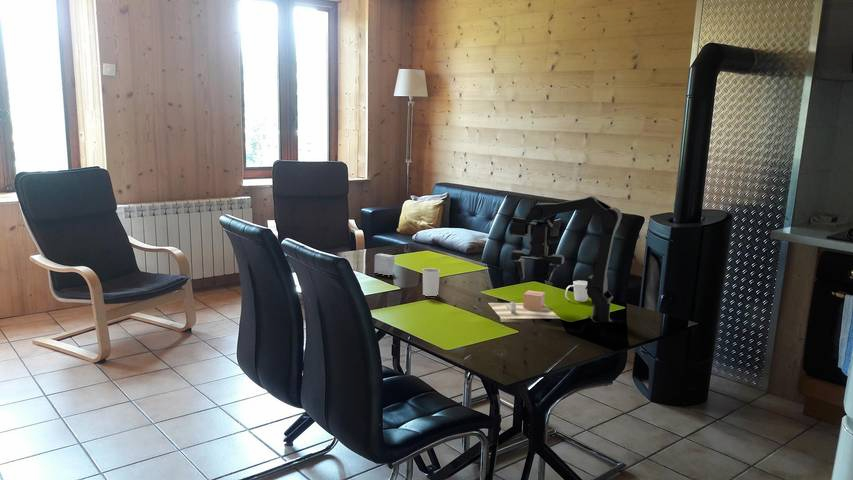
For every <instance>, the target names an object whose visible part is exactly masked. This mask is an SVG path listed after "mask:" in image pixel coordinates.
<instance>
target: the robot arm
mask: <svg viewBox="0 0 853 480" xmlns="http://www.w3.org/2000/svg"><path fill="white" fill-rule="evenodd" d="M587 209H588V210H590V211H591V213H593V214H594V215H596V216H597V217H598V218H600V228H601V229H600V230H601V236H600V237H601V238H600V242H599V247H598V248H599V249H598V252H597V253H598V254H597V257H596V263H595V267H594V268H595V269H594V272H593V274H591V275H590V276H588V277H587V278H586V279H587V280H586V281H587V286H586V288H585V289H587V295H588V298H590V301H591V305H592V306H593V307H592V316H591V315H590V316H588V319H589V320H591V321H592V322H594V323H595V324H596V323H597V324H600V323H601V324H602V323H603V324H604V323H610V324H611V323H613V322H614V321H613V320H612V319H611V318H610V315H611V314H610V311H611V302H612V300H613V298H614V296H613V294H612V293H611V292H610V291H609V289H608V285H609V284H608V268H609V263H610V257H611V253H612V248H613V243H614V238H615V234H616V232H617V230H618V228H619V226H620V223H621V220H622V218H623V213H622V212H621V210H620V209H619V208H617V207H612V206H610V205H609V204H608V203H605V202H604V201H602V200H600V199H598V198H597V197H596V196H593V195H591V196H588V197H585V198H583V197H582V198H579V199H573V200H568V201H562V202H542V203H541V202H540V203H536V204H534V205H532V206H531V208H530V210H529V214H528V215H527V216H526V217H525V218H524V217H523V218H522V217H517V216H513V217H511V221H510V225H509V228H508V232H509V235H510V236H514V237H522V238H523V237H524V238H527V237H528V235H530V236H529V239H530V240H529V244H528V251H529V252H528V253H525V251H524V250H520V249H519V250H517V249H516V250H512V251H511V253H510V256H509V260H510V261H512V262H513V263H515V264H516V267H517V268H518V270H519V274H520V277H521V280H524V279H525V262H526V261H525V260H535V261H545V262H549V265H548V272H547V278H546V279H547V280H546V281H547V283H549V282H551V281H550V280H551V278H552V276H553V272H554V271H555V270H556V268H559V266H562V265H564V264H565V256H564V255H563V254H559V253H558V254H556V253H553V254H552V255H548V254H549V253H548V252H549V246H548V245H547V236H548V235H547V233H548V228H553V226H554V224H553V223H552V222H551V221H550V219H547V218H550V217H552V216H555V215H558V214H563V213H564V214H565V213H568V212H569V213H570V212H574V211H575V212H576V211H580V210H587ZM544 219H547V220H546V221H543V220H544ZM534 221H536V223H535V222H534Z"/></svg>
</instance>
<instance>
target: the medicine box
mask: <svg viewBox="0 0 853 480" xmlns="http://www.w3.org/2000/svg"><path fill="white" fill-rule="evenodd" d="M395 258H396V257H395V255H392V254H385V253H376V254H374V270H373V273H378V274H383V275H382V276H384V275H388V276H387V277H390V276H389V275H392V276H394V275H395ZM378 274H377V275H378ZM393 274H394V275H393Z"/></svg>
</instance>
